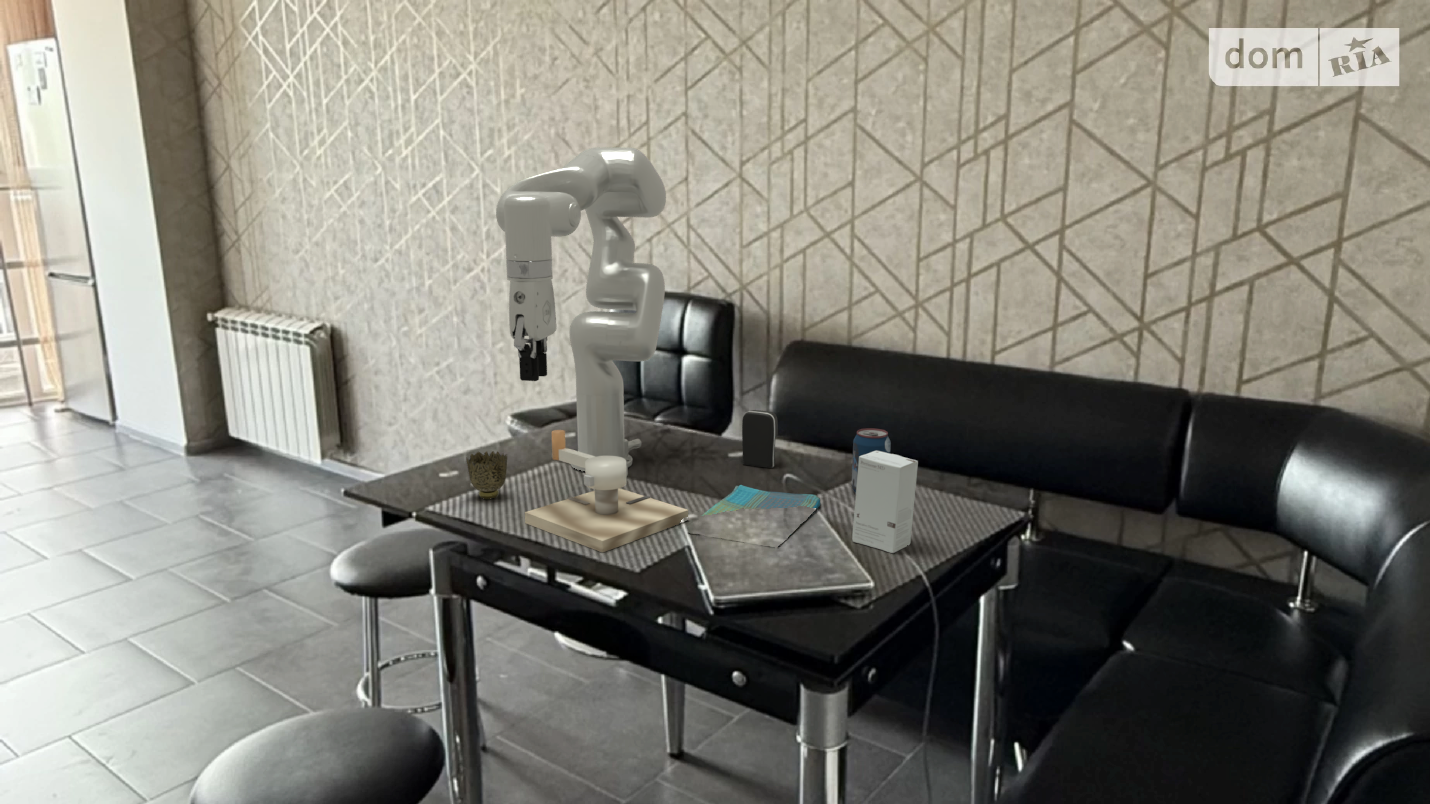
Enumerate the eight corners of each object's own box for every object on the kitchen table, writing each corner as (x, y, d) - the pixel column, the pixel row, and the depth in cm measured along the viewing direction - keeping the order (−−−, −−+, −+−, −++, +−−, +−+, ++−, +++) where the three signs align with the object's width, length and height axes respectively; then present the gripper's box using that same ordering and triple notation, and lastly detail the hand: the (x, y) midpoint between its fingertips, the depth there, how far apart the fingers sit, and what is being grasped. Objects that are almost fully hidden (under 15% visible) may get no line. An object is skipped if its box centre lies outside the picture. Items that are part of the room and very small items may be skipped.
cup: (499, 505, 190) (497, 463, 188) (461, 502, 191) (459, 460, 189) (515, 492, 197) (513, 451, 195) (478, 489, 198) (476, 449, 196)
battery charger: (779, 464, 215) (780, 410, 212) (772, 469, 211) (773, 414, 208) (747, 460, 217) (748, 407, 215) (740, 465, 214) (741, 411, 211)
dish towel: (823, 508, 190) (823, 494, 190) (779, 552, 170) (779, 537, 169) (736, 495, 197) (736, 482, 196) (683, 536, 176) (683, 522, 176)
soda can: (895, 493, 197) (898, 431, 194) (874, 502, 192) (877, 439, 189) (865, 485, 201) (867, 425, 199) (844, 493, 196) (846, 432, 194)
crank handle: (573, 462, 192) (572, 425, 190) (638, 482, 180) (637, 443, 179) (536, 472, 185) (534, 435, 184) (601, 494, 174) (600, 453, 173)
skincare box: (851, 542, 172) (854, 456, 169) (870, 532, 177) (874, 448, 173) (895, 555, 167) (899, 466, 163) (914, 544, 171) (919, 457, 168)
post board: (610, 495, 195) (610, 461, 193) (688, 520, 182) (688, 484, 180) (525, 523, 181) (523, 486, 179) (602, 552, 168) (601, 513, 166)
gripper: (532, 276, 165) (536, 389, 169) (567, 265, 181) (571, 369, 185) (488, 275, 166) (493, 387, 171) (527, 264, 182) (531, 367, 186)
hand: (533, 377), depth 178 cm, fingers open, 3 cm apart
